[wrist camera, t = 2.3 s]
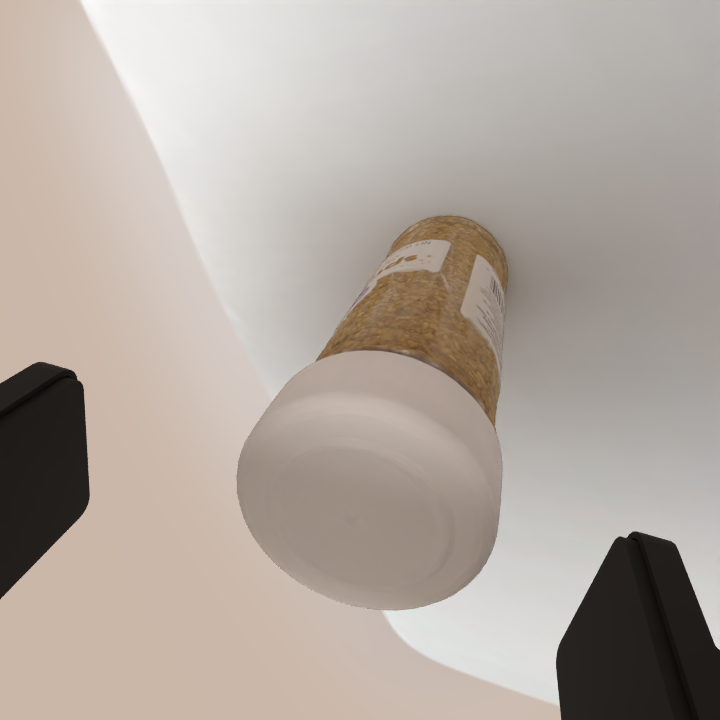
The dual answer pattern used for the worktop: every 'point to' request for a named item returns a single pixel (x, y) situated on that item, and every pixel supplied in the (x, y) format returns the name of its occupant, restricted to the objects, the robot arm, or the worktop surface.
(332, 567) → the sprinkles bottle
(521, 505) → the worktop surface
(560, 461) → the worktop surface
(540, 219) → the worktop surface
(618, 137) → the worktop surface
